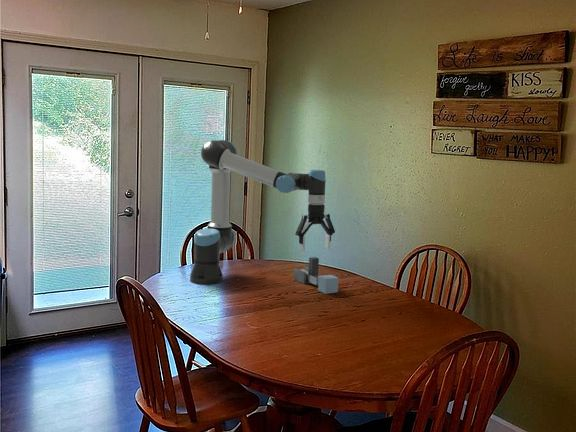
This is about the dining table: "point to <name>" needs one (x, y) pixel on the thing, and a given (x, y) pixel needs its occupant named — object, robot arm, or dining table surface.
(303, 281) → the open u-shaped channel
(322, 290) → the socket
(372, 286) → the dining table surface
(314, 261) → the gray bent bar
